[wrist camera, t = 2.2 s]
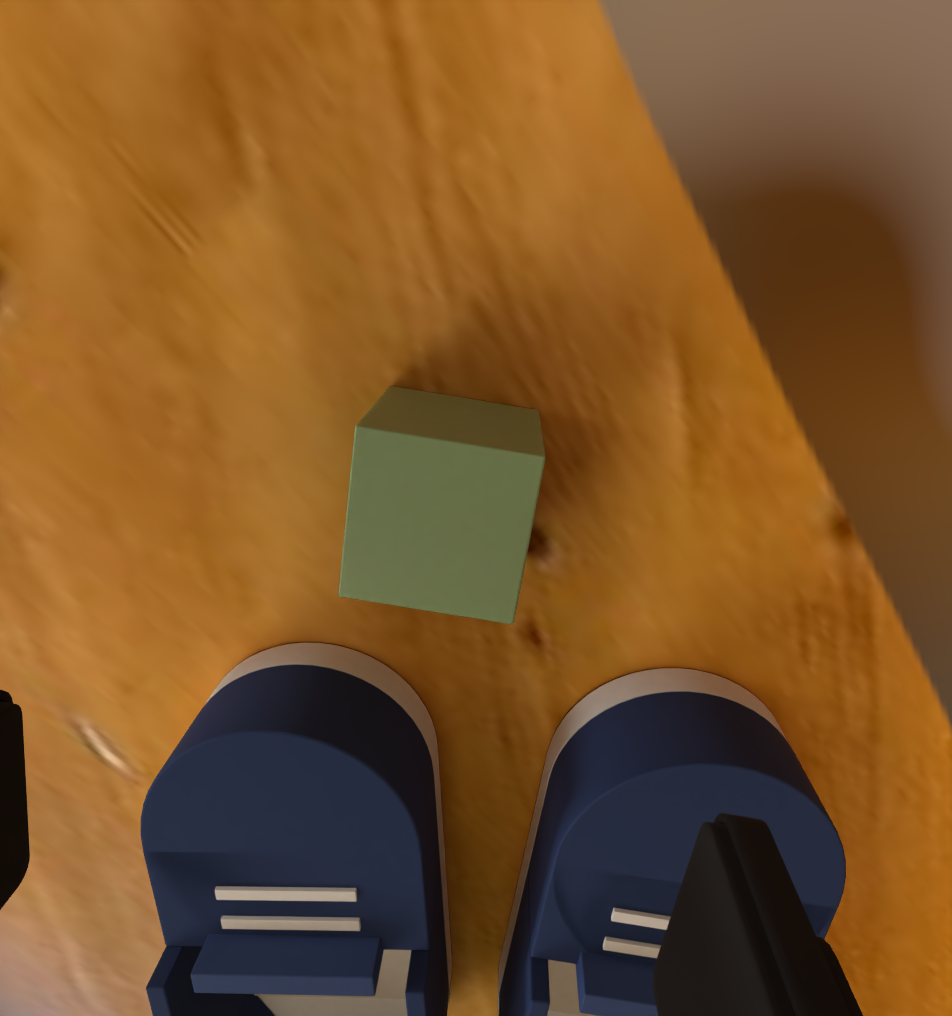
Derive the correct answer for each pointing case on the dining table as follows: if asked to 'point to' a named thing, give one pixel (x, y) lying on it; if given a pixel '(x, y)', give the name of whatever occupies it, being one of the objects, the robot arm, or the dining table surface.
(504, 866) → the dining table surface
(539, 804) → the sneaker
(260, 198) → the dining table surface
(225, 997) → the sneaker
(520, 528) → the green block
